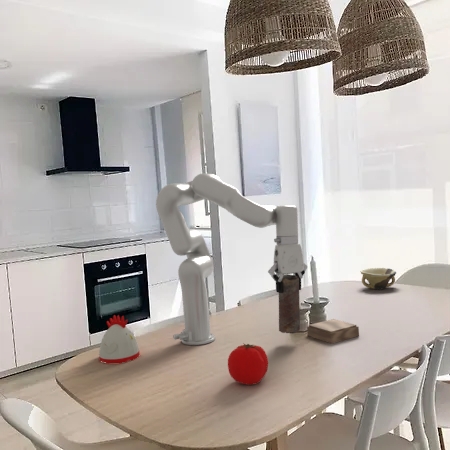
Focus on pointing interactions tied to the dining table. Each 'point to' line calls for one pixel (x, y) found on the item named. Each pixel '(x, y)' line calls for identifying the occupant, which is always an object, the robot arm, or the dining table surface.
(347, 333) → the plinth
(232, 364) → the tomato
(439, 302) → the dining table surface
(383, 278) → the bowl
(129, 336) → the kitchen timer
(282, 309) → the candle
